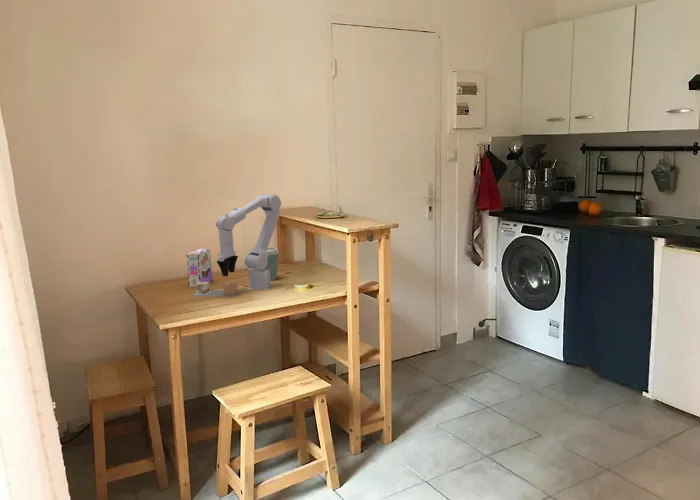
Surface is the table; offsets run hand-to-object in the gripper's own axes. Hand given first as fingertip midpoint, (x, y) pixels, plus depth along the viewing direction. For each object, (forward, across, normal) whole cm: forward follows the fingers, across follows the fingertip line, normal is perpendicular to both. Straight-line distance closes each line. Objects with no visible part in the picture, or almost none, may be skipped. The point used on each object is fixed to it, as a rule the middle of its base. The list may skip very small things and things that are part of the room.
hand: (228, 274), depth 259 cm
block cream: (+9, 0, -13) cm, 15 cm away
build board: (+9, 0, -6) cm, 11 cm away
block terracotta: (+9, 0, 0) cm, 9 cm away
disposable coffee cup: (+10, -31, +8) cm, 34 cm away
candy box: (+10, -18, -21) cm, 29 cm away
